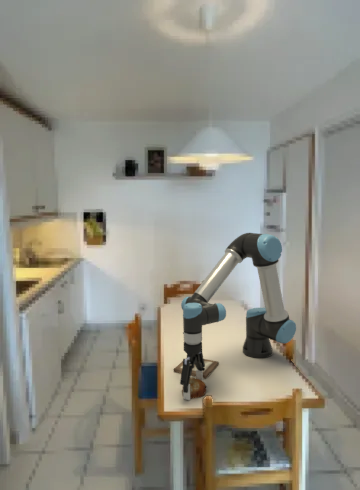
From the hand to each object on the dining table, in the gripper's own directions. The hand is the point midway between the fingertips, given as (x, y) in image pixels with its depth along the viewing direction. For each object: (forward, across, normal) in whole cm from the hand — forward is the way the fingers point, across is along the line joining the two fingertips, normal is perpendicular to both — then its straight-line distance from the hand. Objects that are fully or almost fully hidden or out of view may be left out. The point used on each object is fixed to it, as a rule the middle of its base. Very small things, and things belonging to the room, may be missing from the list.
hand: (193, 392), depth 155 cm
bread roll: (+1, 0, 0) cm, 1 cm away
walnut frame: (0, -21, -8) cm, 22 cm away
